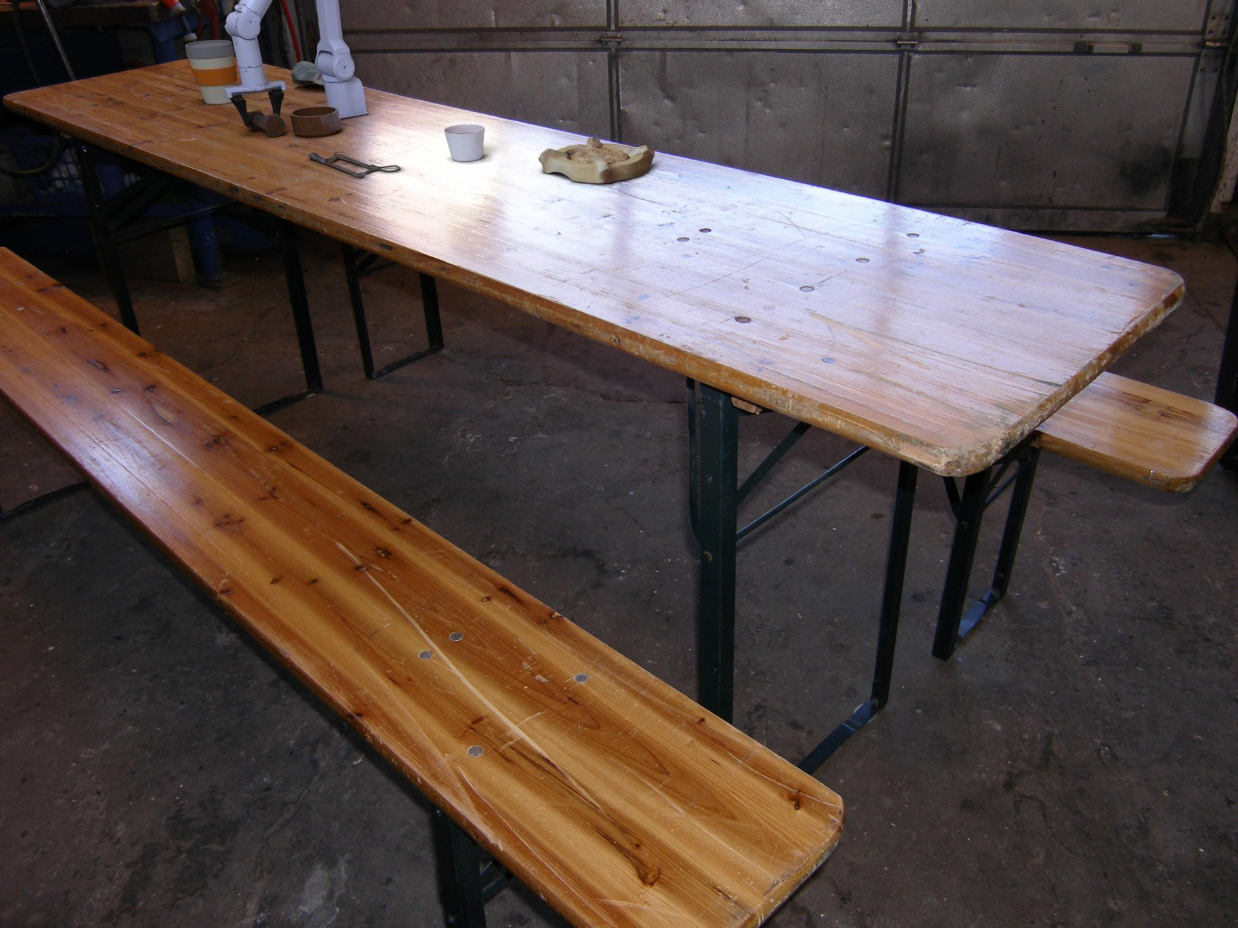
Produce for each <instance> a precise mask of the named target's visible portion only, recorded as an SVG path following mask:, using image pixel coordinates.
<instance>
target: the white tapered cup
mask: <svg viewBox="0 0 1238 928" xmlns="http://www.w3.org/2000/svg"><path fill="white" fill-rule="evenodd" d="M485 129H486V128H485V126H483V125H481V124H475V123H474V124H473V123H464V124H454V125H450V126H447V127H445V128H444V129H443V133H444V137H445V139H446V142H447V147H448V150H449V153H450V157H451V159H452V160H454V161H457V162H474V161H478V160H480V159H482V158H483V154H484V144H485V143H484V141H485Z"/></svg>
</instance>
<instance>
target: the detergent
mask: <svg viewBox="0 0 1238 928" xmlns="http://www.w3.org/2000/svg"><path fill="white" fill-rule="evenodd" d="M290 77H291V82H292V83H293V84H295V85H298V86H302V87H306V86H307V87H309V86H311V85H313V84H316V85H319V86H323V87H324V82H323V77H322V74H321V73H319V71H318V70H317V68H316V64H315V63H313V62H312V61H311V62H310V61H306V60H302V61H299V62H297V63H295V65H294V66H293V67H292V69H291V72H290ZM355 77H356V76H355V75H354V74H353V76H352V78H355Z"/></svg>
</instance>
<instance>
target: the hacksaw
mask: <svg viewBox="0 0 1238 928" xmlns="http://www.w3.org/2000/svg"><path fill="white" fill-rule="evenodd" d="M342 153H344V154H341V153H339V151H335V152H333V153H332V156H331V157H327V158H324V157H322V156H321V155H319V154H318V153H316V152H314V151H313V152H310V153H308V159H310V160H312V161H316V162H317V163H321V164H323V165H328V166H330V167H333V168H336V169H338V170H341V171H344V172H345V173H348V174H350V175H352V176H353V177H355V178H364V177H365V176H367V175H368V174H370V173H374V172H381V173H383V172H384V173H394V172H395V173H396V172H398V171H400V170H401V167H400V166H399V165H397V164H391V165H384V166H378V165H374V164H368V163H364V162H362V161H360V160H357V159H354V158H352V157H349V156H346V155H345V152H344V151H342ZM336 159H341V160H343V161H346V162H349V163H352V164H355V165H357V166H361V167H363V168H366V169H367V170H365V171H364V172H354V171H352V170H351V169H347V168H345V167H344V166H340V165H338V164H336V163H333V162H331V161H334V160H336ZM387 168H396V169H391V170H386V169H387Z"/></svg>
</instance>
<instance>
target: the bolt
mask: <svg viewBox="0 0 1238 928" xmlns="http://www.w3.org/2000/svg"><path fill="white" fill-rule="evenodd" d="M247 114H248V118H249V121H250V127H249V128H250V129H252V130H253V131H260V130H263V131H264V132H265V134H266V135H267V136H268V137H270V138H276V137H281V136H283V135H284V132H285V130H286V122H285V120H284V119H283V118H282V116H281V115H280V116H279V115H278V114H276V113H275V114H273V113H271V114H264V113H263V112H262V111H261V110H252V111H249V112H248V111H247Z"/></svg>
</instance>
